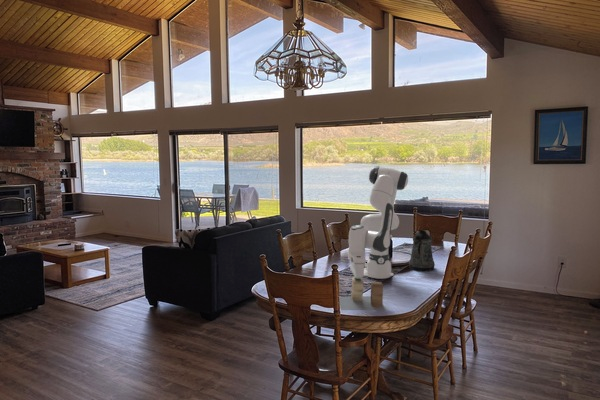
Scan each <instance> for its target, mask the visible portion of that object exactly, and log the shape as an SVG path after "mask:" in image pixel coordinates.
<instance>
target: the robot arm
mask: <svg viewBox="0 0 600 400" xmlns="http://www.w3.org/2000/svg"><path fill="white" fill-rule="evenodd" d="M368 180H369V182H370V183H371V184H373V186H372V190H371V193H370V197H369V203H370V205H371V206H372V207H373V209H375V210H376V211H378V212H379V213H369V214H366V215H364V216H363V217H362V218H361V219H360V224H355V225H352V226H351V227H350V229H349V231H348V249H347V251H348V252H347V253H348V255H347V256H348V257H347V259H348V261H349V262H350V263H349V270H350V271H351V273H352V274H353V277H356V278H362V279H363V278H364V277H369V278H372V279H383V280H384V279H389V278H391V277H393V276H394V275H395V274H394V273H393V272H392V263H391V261H390V260H389V259H390V254H389V249H390V246H391V232H392V231H393V230H397V229H398V227H399V225H400V219H399V216H398V215H397V214H396V213H395V210H394V207H395V206H394V205H395V201H396V197H397V191H402V190H404V189H405V188H406V187H407V185H408V183H409V175H408V173H406V172H404V171H400V170H397V169H395V168H389V167H383V166H377V165H376V166H373V167H372V168H371V169H370V171H369V173H368ZM366 249H368V250H369V251H370V252H369V254H368V260H367V261H366ZM366 262H367V263H366Z"/></svg>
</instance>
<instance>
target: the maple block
mask: <svg viewBox="0 0 600 400" xmlns="http://www.w3.org/2000/svg"><path fill="white" fill-rule="evenodd" d="M364 284H365V283H364V280H363V278H356V277H354V276H352V277H351V291H350V293H351V294H350V295H351V296H350V297H352V300H353V301H362V297H363V296H364V295H363V293H364Z"/></svg>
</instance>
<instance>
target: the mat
mask: <svg viewBox="0 0 600 400" xmlns="http://www.w3.org/2000/svg"><path fill="white" fill-rule="evenodd" d="M339 297H340V305H339V308H340V310H341V311H353V310H354V311H359V310H360V311H363V310H364V311H365V310H366V311H367V310H370V311H371V310H373V311H375V310H376V311H377V310H381V311H382V310H385V311H386V310H387V308H386V307H385V306H384V304H383V306H382V307H372V305H371V295H369V296H367V295H366V296H365V295H363V297H362V301H353V300H352V297H351V296H339Z"/></svg>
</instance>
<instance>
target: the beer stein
mask: <svg viewBox="0 0 600 400" xmlns="http://www.w3.org/2000/svg"><path fill="white" fill-rule="evenodd" d="M412 241H413V242H412V248H411V254H410V260H409V261H408V265H409V269H411V270H413V271H416V272H432V271H434V269H435V261H434V258H433V257H434V256H433V250H432V241H433V238H432V236H431V235H429V234H428V233H427V231H425V230H419V231H418V232H417V233H416V234H415V235H413V236H412Z"/></svg>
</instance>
